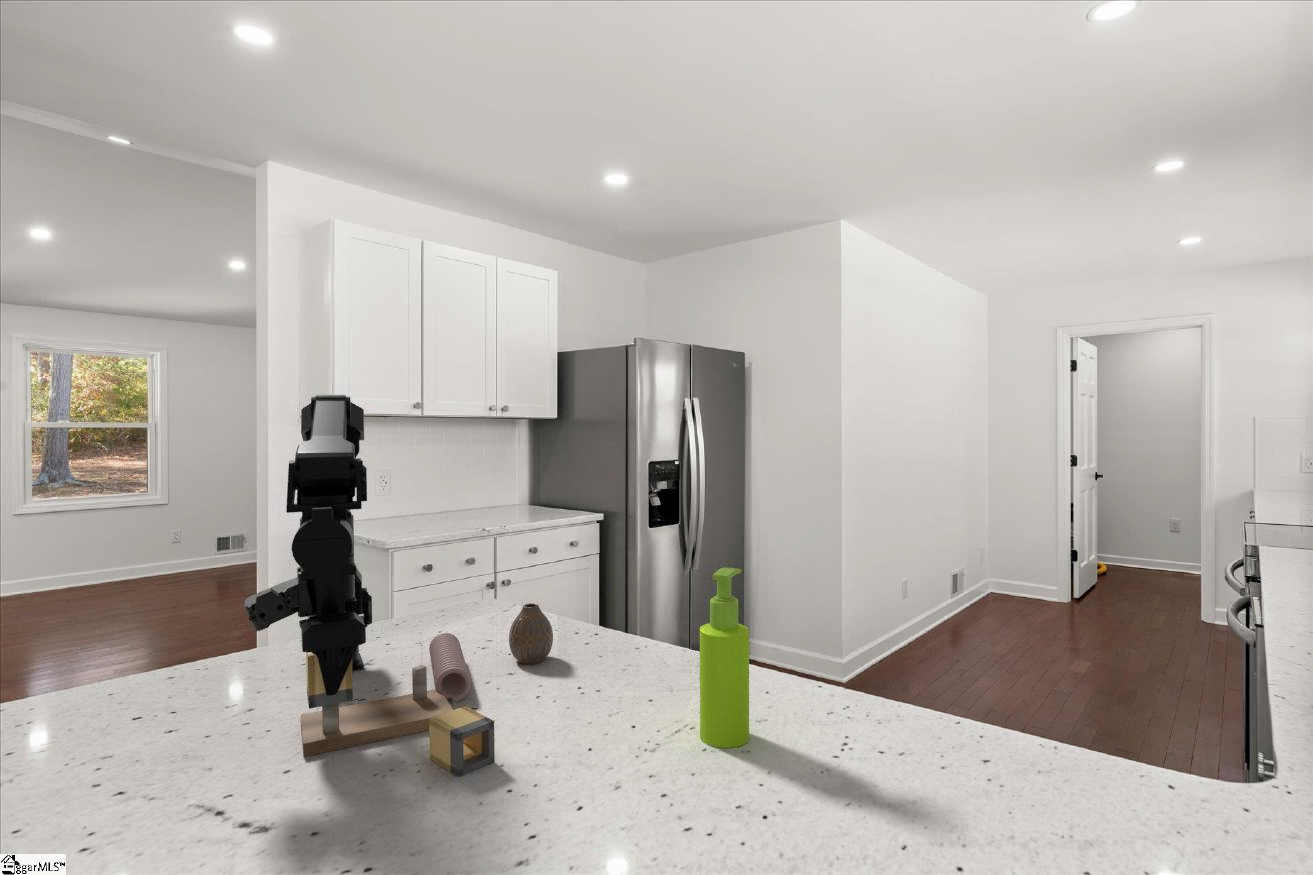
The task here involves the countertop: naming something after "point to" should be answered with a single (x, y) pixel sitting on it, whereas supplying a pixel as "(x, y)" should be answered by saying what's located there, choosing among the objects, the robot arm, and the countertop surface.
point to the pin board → (373, 718)
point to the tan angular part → (461, 740)
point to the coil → (449, 667)
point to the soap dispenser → (724, 670)
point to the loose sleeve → (316, 685)
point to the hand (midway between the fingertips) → (330, 687)
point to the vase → (531, 635)
